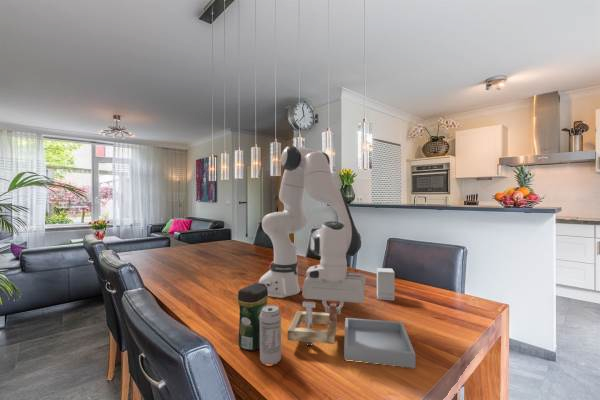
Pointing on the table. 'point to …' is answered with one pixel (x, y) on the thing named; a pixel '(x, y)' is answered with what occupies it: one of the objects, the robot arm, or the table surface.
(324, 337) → the ring
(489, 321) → the table surface
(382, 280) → the supplement box
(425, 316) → the table surface
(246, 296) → the coffee jar
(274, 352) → the energy drink can
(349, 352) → the tray
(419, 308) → the table surface
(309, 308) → the rod
